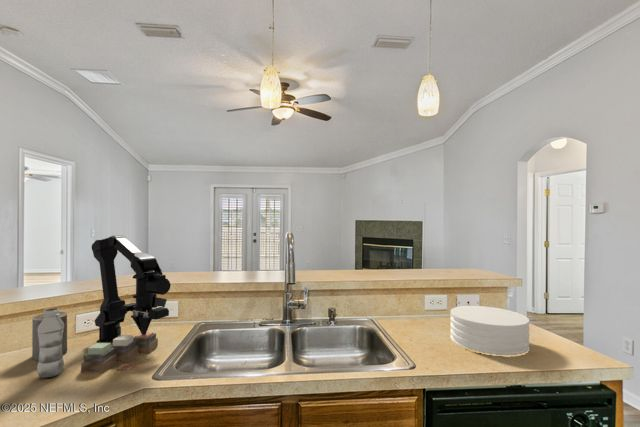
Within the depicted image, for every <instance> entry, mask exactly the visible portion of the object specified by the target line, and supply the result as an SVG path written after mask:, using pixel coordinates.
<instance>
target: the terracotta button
mask: <svg viewBox="0 0 640 427" xmlns="http://www.w3.org/2000/svg"><path fill="white" fill-rule="evenodd" d="M153 333H154V332H153V331H152V332H151V331H149V332H148V331H147V332H146V334H145V335H142V334H141V332H140V331H139V333H138V334H136V335H134V337H135V338H149V337H150V336H152V335H153Z"/></svg>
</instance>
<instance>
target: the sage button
mask: <svg viewBox="0 0 640 427" xmlns="http://www.w3.org/2000/svg"><path fill="white" fill-rule="evenodd" d="M111 345H112V342H96V343H94V344H92V345H91V346H90V347H88V348H87V353H88V355H103V354H105V353H107V352H108V351H110V350H111Z"/></svg>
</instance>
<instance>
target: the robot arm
mask: <svg viewBox="0 0 640 427" xmlns="http://www.w3.org/2000/svg"><path fill="white" fill-rule="evenodd" d="M91 251H92V253H93V257H94V259H96V261H98V263H99V269H100V278H101V279H100V280H101V286H102V287H101V288H102V295H103V301H102V303H101V304H100V307H99V314H98V315H97V316H96V318H95V319H94V324H95V326H96V327H98V329H99V331H98V332H99V334H98V339H97V340H96V343H113V339H115V338H117V337H118V336H120V335H122V326H121V324H122V323H124V322H125V318H126V314H128V312H132V315H130V318H132V320H133V321H134V323H135V324H136V326H137V328H138V330H139V333H140V332H141V334H142V335H145V334H146V332H148V329H149V327H150V324H151V323H152V320H159V319H160V320H161V319H163V318H166V317H169V315H170V310H169V308H168V307H166V304H167V298H162V297H157V295H161V296H162V295H163V296H164V295H166V294H168V292H169V291H170V289H171V283H170V280H169V279H168V278H167V276H166V275H167V274H163V271H162V269H161V267H160V265H159V263H158V260H157V259H156V258H155V256H153V255H151V254H150V253H145V252H142V251H141V250H139V249H138V248H137V247H136V246H135V245H134V244H133V243H132V242H130V241H129V239H127V237H126V236H125V235H119V234H118V235H111V236H109V237H105V238H103V239H96V240H94V242H93V243H92V244H91ZM118 252H119V253H120V254H121V255H122V256H123V257H125V258H126V259H127V261H129V263H130V268H131V270H133V271H134V275H133V276H132V279H135V294H133V295H132V299H135V302H129V303H126V301H125V300H124V299H121V298H120V297H119V291H118V282H117V275H116V267H115V266H116V265H115V259H116V257H117V255H118Z"/></svg>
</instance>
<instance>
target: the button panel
mask: <svg viewBox="0 0 640 427" xmlns="http://www.w3.org/2000/svg"><path fill="white" fill-rule="evenodd" d="M158 342H159V340H158V337H157V333H155V332H153V335H152V336H150V337H149V338H135V336H133V342H132V343H131V344H129V345H128V346H113V343H111V350H110V351H108V352H107V353H105V354H103V355H88V352H87V353H85V354H84V355H83V361H81V362H80V372H81V373H105V372H106V371H108V370H109V369H111V367H113V366H114V365H115V364H117V363H123V364H121V365H120V366H118V367H117V368H116V371H130V370H132V369H133V367H135V366H136V363H129V362H130V361H131V360H133V359H134V358H135V357H136V356H138V355H139V354H151V353H152V352H153V351H155V349H156V348H158V346H159V343H158Z"/></svg>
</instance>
